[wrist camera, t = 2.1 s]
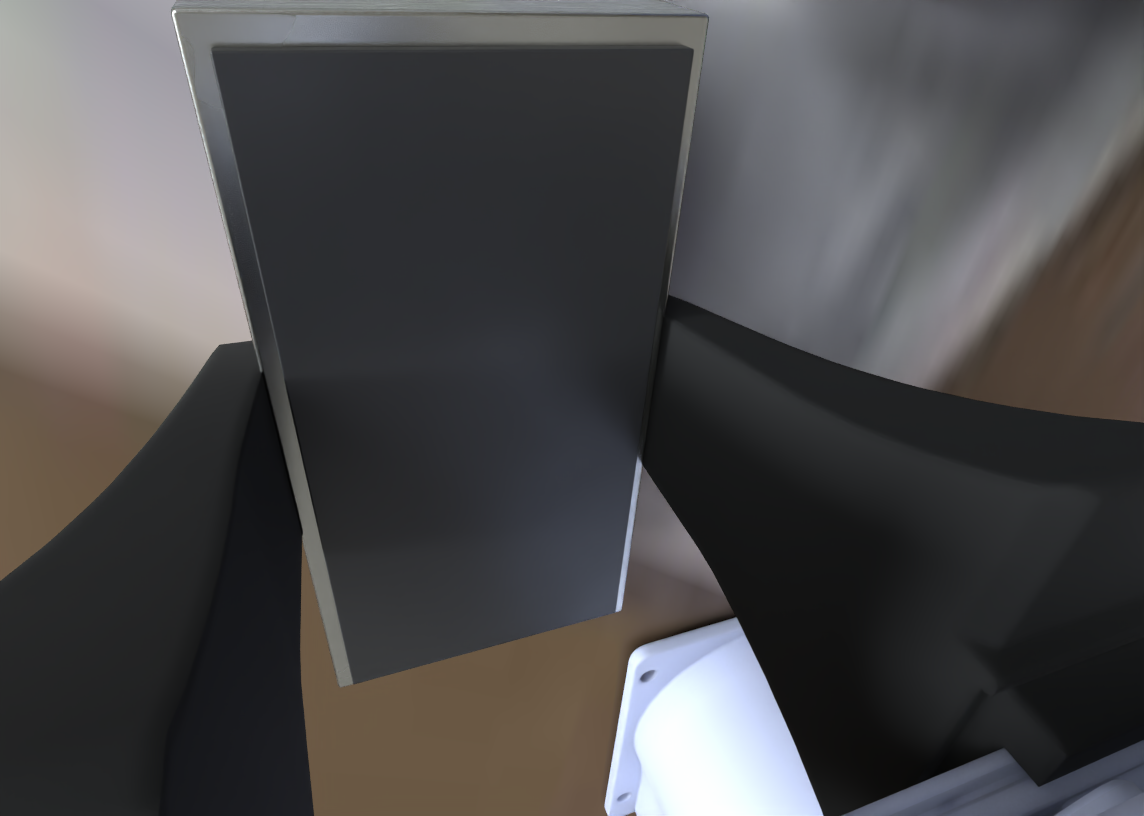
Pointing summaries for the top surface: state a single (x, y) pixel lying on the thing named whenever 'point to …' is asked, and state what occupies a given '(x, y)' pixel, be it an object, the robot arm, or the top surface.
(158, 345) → the top surface
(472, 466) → the phone
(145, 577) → the robot arm
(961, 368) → the top surface
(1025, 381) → the top surface
